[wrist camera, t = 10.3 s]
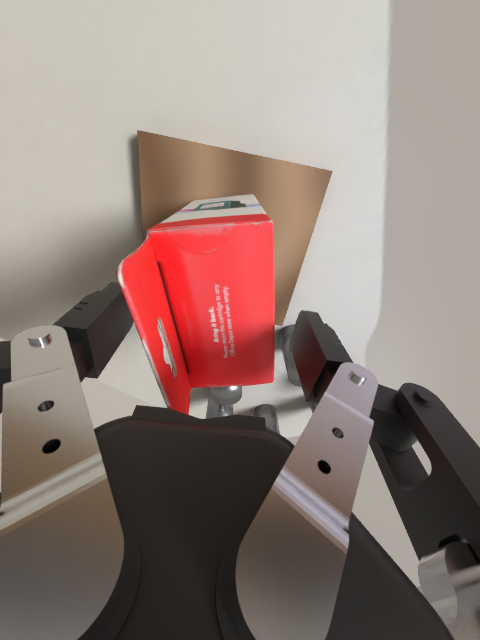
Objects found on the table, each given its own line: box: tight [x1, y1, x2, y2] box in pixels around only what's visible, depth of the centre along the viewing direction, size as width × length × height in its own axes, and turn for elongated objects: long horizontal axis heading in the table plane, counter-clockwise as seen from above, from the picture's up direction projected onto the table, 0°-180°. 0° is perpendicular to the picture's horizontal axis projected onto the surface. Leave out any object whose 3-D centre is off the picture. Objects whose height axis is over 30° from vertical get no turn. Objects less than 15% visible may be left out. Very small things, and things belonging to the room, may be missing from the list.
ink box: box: [116, 194, 275, 415], centre depth 14 cm, size 8×5×15 cm, turn 5°
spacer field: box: [206, 325, 318, 434], centre depth 28 cm, size 17×17×6 cm
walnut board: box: [137, 130, 332, 326], centre depth 21 cm, size 14×14×1 cm
